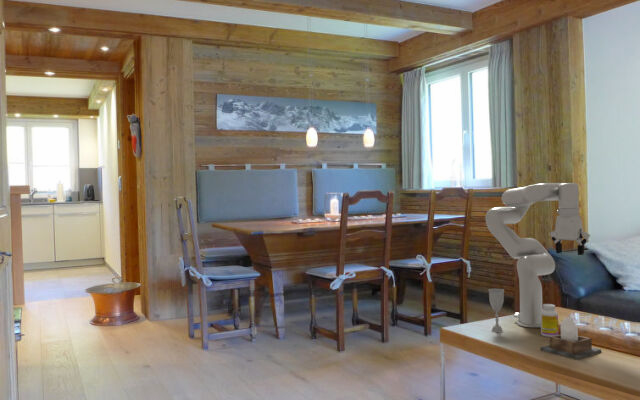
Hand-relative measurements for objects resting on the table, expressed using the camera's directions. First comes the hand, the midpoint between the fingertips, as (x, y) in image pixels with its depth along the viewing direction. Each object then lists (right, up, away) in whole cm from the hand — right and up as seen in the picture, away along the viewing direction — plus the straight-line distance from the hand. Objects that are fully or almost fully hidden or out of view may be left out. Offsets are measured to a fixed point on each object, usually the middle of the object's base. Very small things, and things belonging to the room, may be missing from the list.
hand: (569, 253), depth 223 cm
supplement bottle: (-7, -35, +2) cm, 36 cm away
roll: (-9, -34, -20) cm, 40 cm away
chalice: (-26, -35, +11) cm, 45 cm away
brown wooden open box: (-9, -35, -20) cm, 41 cm away
